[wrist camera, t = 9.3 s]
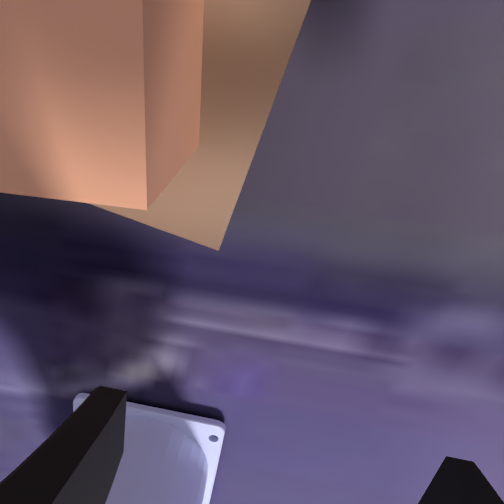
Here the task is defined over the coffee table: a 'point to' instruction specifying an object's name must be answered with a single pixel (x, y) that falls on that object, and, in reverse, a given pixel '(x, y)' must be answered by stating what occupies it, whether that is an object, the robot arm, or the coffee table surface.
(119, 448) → the robot arm
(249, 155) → the walnut block
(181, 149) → the terracotta cube
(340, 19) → the coffee table surface
